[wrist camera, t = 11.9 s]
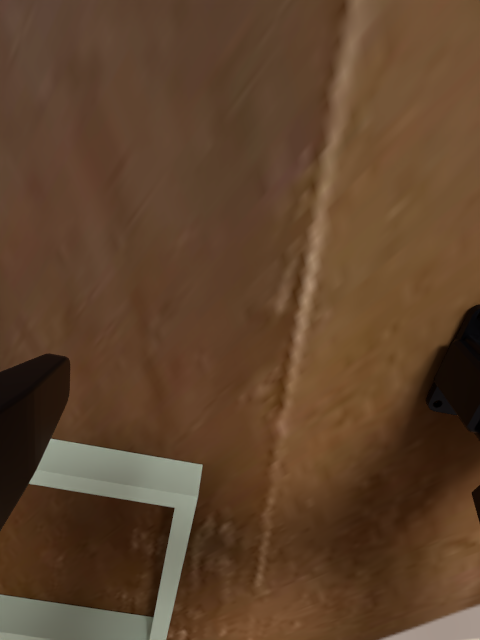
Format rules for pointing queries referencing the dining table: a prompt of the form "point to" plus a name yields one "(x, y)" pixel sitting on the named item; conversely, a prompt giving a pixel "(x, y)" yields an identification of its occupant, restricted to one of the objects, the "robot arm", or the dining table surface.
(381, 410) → the dining table surface
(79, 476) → the empty rectangular frame
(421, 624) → the dining table surface
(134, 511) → the dining table surface
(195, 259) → the dining table surface
